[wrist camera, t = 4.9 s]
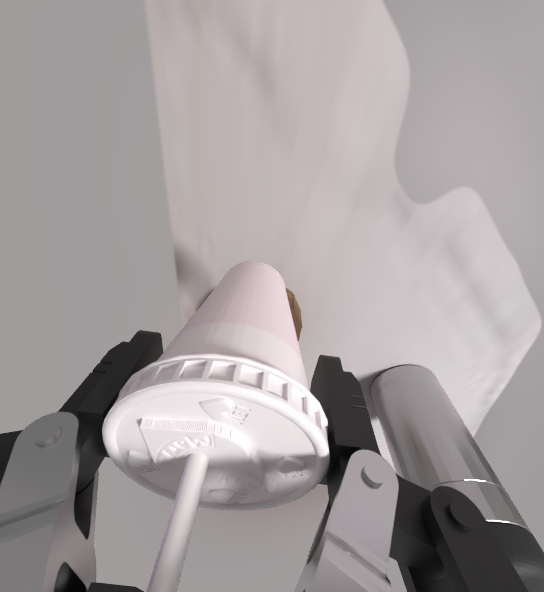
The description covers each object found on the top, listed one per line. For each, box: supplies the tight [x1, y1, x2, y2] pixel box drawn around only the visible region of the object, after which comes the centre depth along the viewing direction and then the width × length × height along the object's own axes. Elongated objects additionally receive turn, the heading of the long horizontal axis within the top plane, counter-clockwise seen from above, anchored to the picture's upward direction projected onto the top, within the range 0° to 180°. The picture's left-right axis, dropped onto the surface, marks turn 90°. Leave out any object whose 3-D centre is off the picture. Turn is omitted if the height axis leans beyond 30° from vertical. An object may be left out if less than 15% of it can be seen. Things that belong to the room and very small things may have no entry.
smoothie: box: [102, 261, 330, 592], centre depth 10 cm, size 6×6×14 cm
